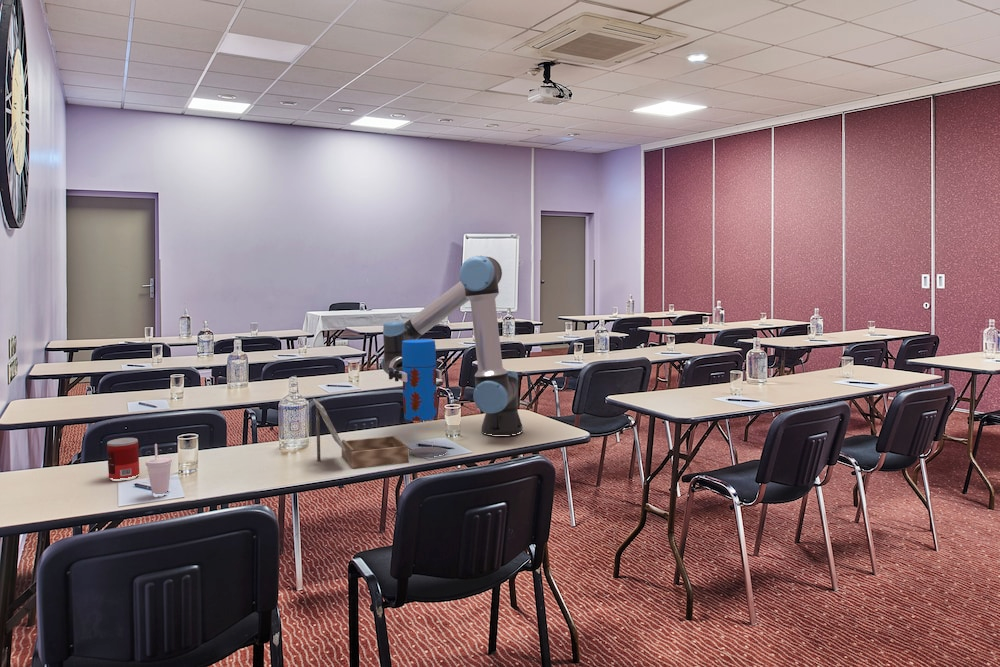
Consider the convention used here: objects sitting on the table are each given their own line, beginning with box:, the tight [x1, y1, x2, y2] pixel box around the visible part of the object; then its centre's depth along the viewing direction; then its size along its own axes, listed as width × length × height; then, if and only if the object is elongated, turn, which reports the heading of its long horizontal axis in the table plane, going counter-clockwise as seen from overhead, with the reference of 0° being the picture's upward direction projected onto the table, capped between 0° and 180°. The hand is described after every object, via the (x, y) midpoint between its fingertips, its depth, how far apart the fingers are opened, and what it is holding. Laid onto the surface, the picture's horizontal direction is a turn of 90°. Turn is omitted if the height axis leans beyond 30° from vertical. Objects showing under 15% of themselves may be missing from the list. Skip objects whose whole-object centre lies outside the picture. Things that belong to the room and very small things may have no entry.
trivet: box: [409, 446, 448, 459], centre depth 232 cm, size 12×12×1 cm
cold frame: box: [312, 398, 409, 470], centre depth 222 cm, size 26×16×20 cm, turn 114°
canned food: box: [106, 437, 140, 479], centre depth 204 cm, size 8×8×11 cm
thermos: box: [402, 338, 438, 422], centre depth 229 cm, size 11×11×25 cm
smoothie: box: [145, 443, 173, 494], centre depth 188 cm, size 6×6×14 cm
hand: (423, 376), depth 225 cm, fingers closed on thermos, 11 cm apart
